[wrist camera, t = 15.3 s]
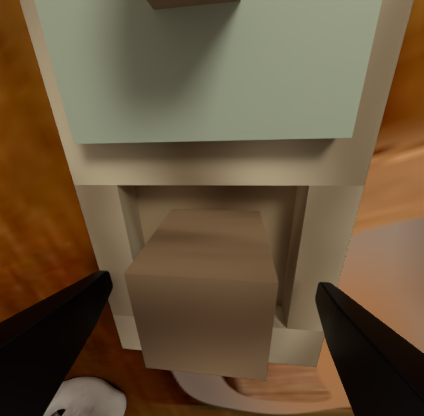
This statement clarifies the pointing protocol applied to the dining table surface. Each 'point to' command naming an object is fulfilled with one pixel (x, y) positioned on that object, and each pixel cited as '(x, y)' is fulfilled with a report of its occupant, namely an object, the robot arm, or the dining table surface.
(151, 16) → the cover
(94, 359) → the dining table surface
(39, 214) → the dining table surface
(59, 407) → the skull bowl
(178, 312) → the block
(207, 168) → the puzzle board
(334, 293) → the robot arm
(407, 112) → the dining table surface
